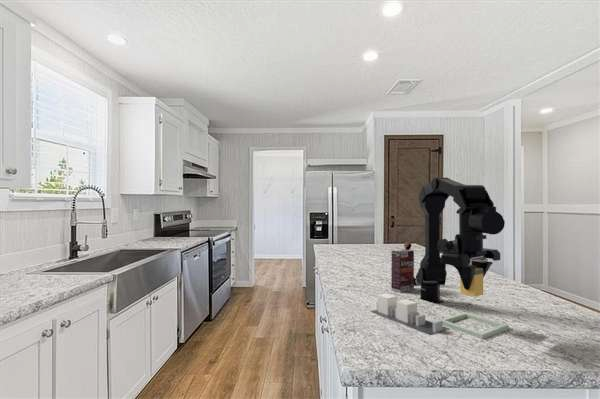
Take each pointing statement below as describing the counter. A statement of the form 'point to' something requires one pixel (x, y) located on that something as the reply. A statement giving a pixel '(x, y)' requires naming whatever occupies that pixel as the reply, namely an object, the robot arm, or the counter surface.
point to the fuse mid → (405, 309)
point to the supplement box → (402, 270)
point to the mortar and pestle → (408, 246)
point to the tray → (483, 334)
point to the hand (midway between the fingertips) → (471, 288)
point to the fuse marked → (474, 284)
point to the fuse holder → (415, 321)
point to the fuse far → (386, 303)
